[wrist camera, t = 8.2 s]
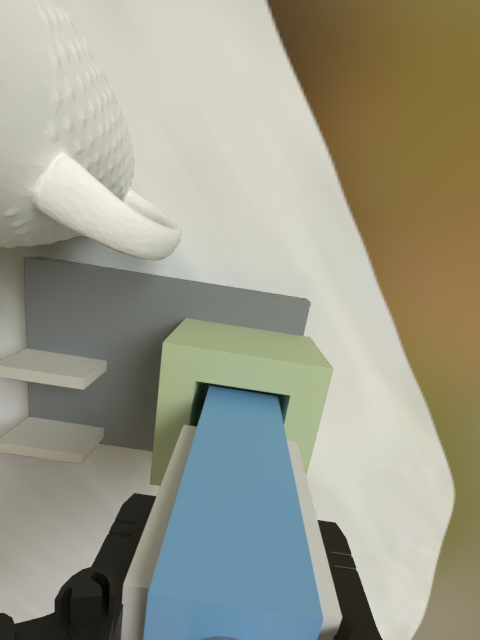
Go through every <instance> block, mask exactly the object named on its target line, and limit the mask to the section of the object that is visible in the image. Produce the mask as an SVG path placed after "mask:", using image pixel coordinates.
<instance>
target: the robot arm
mask: <svg viewBox="0 0 480 640" xmlns="http://www.w3.org/2000/svg"><path fill="white" fill-rule="evenodd" d="M196 429H197V427H196V426H189V425H183V428H182V431H181V433H180V436H179V439H178V441H177V444H176V446H175V449H174V452H173V454H172V457H171V460H170V462H169V465H168V468H167V470H166V473H165V475H164V478H163V481H162V483H161V486H160V489H159V491H158V494H157V497H156V496H150V495H143V494H137V493H134V494H133V495H132V496H131V497H130V498H129V499H128V500H127V501H126V502H125V503H124V504H123V505H122V507H121V509H120V511H119V513H118V515H117V517H116V519H115V522H114V523H113V525H112V527H111V529H110V531H109V534H108V535H107V537H106V539H105V541H104V543H103V545H102V547H101V549H100V551H99V553H98V555H97V557H96V559H95V561H94V563H93V565H92V567H90V568H86V569H83V570H81V571H80V572H78V573H76V574H75V575H73V576H72V577H71V578H70V579H69V580H68V581H67V582H66V583H65V584H64V585H63V586H62V587H61V589H60V591H59V593H58V595H57V596H56V598H55V612H54V613H52V614H49V615H46V616H44V617H40V618H37V619H33V620H29V621H25V622H21V623H17V624H14V621H13V619H12V617H10V616H8V615H6V614H5V613H0V640H143V637H144V627H145V617H146V607H147V597H148V591H149V588H150V584H151V581H152V578H153V574H154V571H155V568H156V564H157V561H158V558H159V554H160V551H161V547H162V544H163V541H164V537H165V534H166V531H167V527H168V524H169V520H170V517H171V514H172V510H173V507H174V504H175V500H176V497H177V493H178V490H179V487H180V483H181V480H182V477H183V473H184V470H185V466H186V463H187V460H188V456H189V453H190V450H191V446H192V443H193V440H194V436H195V433H196ZM287 444H288V448H289V453H290V458H291V463H292V468H293V473H294V478H295V483H296V488H297V493H298V497H299V502H300V507H301V512H302V517H303V522H304V527H305V532H306V537H307V541H308V546H309V551H310V556H311V561H312V566H313V571H314V576H315V581H316V585H317V590H318V595H319V600H320V605H321V610H322V615H323V622H322V626H321V629H320V632H319V635H318V638H317V640H382V638H381V636H380V634H379V632H378V629H377V627H376V624H375V621H374V618H373V616H372V613H371V610H370V607H369V604H368V601H367V598H366V595H365V592H364V589H363V586H362V583H361V580H360V577H359V575H358V572H357V571H356V566H355V563H354V560H353V557H352V556H351V551H350V548H349V545H348V542H347V539H346V537H345V536H344V534H343V533H342V531H341V530H340V528H339V527H338V525H337V524H336V523H333V522H327V521H320V520H317V517H316V513H315V509H314V505H313V501H312V498H311V494H310V490H309V486H308V482H307V478H306V474H305V470H304V466H303V463H302V459H301V455H300V451H299V447H298V443H297V442H293V441H287Z"/></svg>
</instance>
